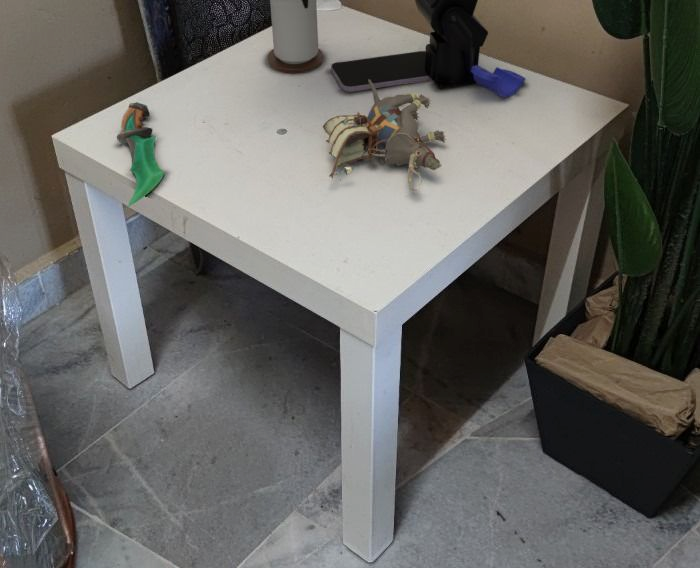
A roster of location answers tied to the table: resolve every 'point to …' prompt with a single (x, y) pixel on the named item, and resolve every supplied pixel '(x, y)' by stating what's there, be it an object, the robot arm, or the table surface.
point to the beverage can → (294, 30)
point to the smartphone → (381, 71)
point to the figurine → (384, 135)
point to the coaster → (294, 68)
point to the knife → (140, 150)
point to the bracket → (498, 80)
